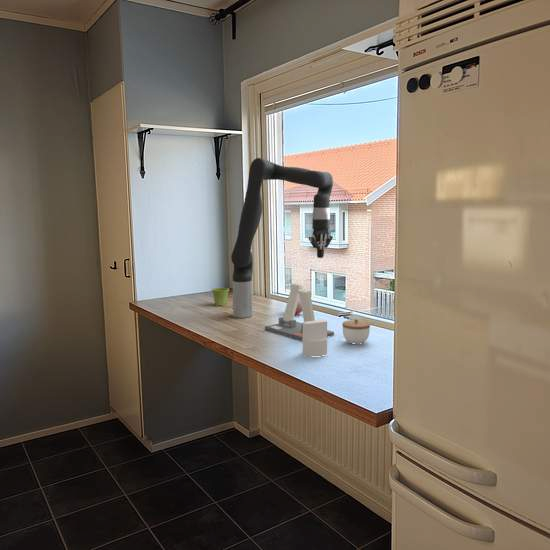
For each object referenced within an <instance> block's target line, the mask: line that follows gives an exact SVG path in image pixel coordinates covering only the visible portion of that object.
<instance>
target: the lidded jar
mask: <svg viewBox="0 0 550 550" xmlns="http://www.w3.org/2000/svg"><path fill="white" fill-rule="evenodd" d="M370 327H371V324H370V322H368V321H365V320H358V319H357V318H355V319H352V320H345V321H343V322H342V334H343V337H344V339H345V340H346V342H347V343H348V342H349V343H355V344H360V343H363V342H364V343H365V342H366V341H367V340H368V338H369V335H370V329H371V328H370ZM349 343H348V344H349ZM364 343H363V344H364ZM360 345H361V344H360Z"/></svg>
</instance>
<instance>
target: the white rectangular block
mask: <svg viewBox="0 0 550 550" xmlns="http://www.w3.org/2000/svg"><path fill="white" fill-rule="evenodd" d="M302 323H303V341H302V347H301V348H302V350H301V351H302V353H303V354H304V355H307V356H322V355H326V354H327V355H328V337H327V330H328V321H327V320H325V319H319V320H317V319H316V320H315V321H308V322H304V321H302ZM303 354H302V355H303ZM304 355H303V356H304ZM327 355H326V356H327ZM307 356H306V357H307Z"/></svg>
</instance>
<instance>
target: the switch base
mask: <svg viewBox="0 0 550 550" xmlns="http://www.w3.org/2000/svg"><path fill="white" fill-rule="evenodd" d="M282 321H283V316H282V317H281V316H280V317H278V323H274V324H269V325H265V326H264V330H265V331H268V332H272V333H275V334H278V335H282V336H284V337H288V338H290V337H291V338H290V339H294V340H297V339H298V340H297V341H300V340H302V341H301V342H303V322H299V321H297V320H296V319H293V320H290V321H289V324H285V323H283V322H282ZM332 335H334V336H335V332H334V331H332V330H328V329H327V338H329V337H333V336H332ZM328 336H329V337H328Z"/></svg>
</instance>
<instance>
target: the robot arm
mask: <svg viewBox="0 0 550 550" xmlns="http://www.w3.org/2000/svg"><path fill="white" fill-rule="evenodd" d="M249 166H250V167H249V171H248V180H247V186H246V191H245V197H244V200H243V201H244V202H243V205H242V210H241V213H240V219H239V224H238V232H237V238H236V241H235V243H234V247H233V251H232V253H231V257H230V259H231V263H232V264H233V273H232V317H233V318H239V319H241V318H242V319H244V318H250V317H253V273H254V271H253V268H254V267H253V266H254V265H253V264H254V261H253V253H252V245H253V239H254V238H255V235H256V232H257V231H258V228H259V224H260V222H261V218H262V213H263V209H264V208H263V199H262V193H261V191H262V184H263V181H266V180H267V181H275V180H277V181H279V180H280V181H284V182H285V181H286V182H288V183H293V184H296V185H297V184H298V185H302V186H309V187H312V188H316V189H317V193H316V194H314V195H313V204H312V205H313V206H312V207H313V208H312V230H313V231H312V235H311V236H309V237H308V240H309V242H310V244H311V246H312V247H313V248H314V249H316V257H317V259H323V258H324V255H325V249H326V248H328V247H329V246H330V244H331V242H332V240H333V238H334V237H333V235H332V236H331V235H330V232H329V229H330V228H331V227H330V223H331V210H330V209H331V207H330V204H331V203H330V202H331V201H330V198H331V195H332V190H333V187H334V179H333V175H332V174H331V173H330V172H328V171H319V170H312V169H311V170H310V169H309V168H305V167H304V168H303V167H295V166H284V165H280V164H276V163H275V162H272V161H270V160H268V159H265V158H261V157H256V158H254V159H253V160H252V161H251V163H250V165H249Z"/></svg>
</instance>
